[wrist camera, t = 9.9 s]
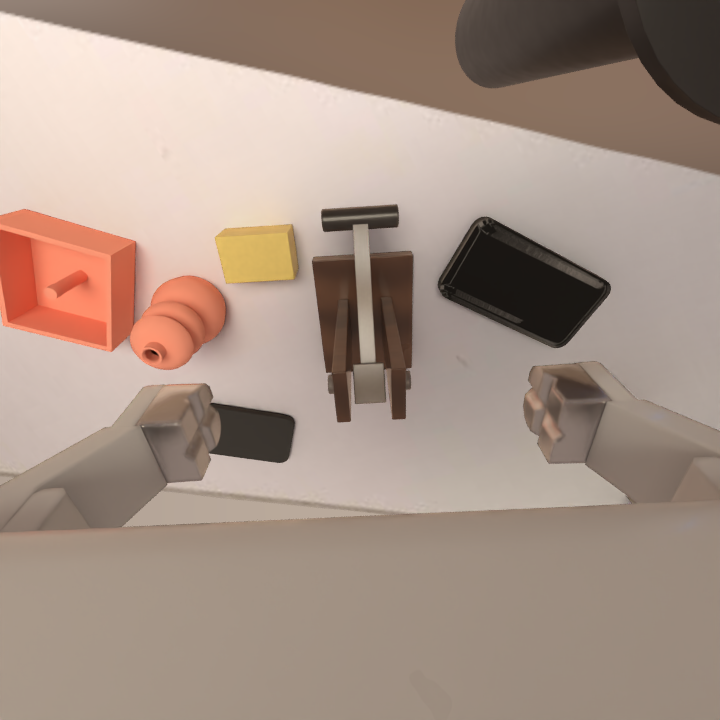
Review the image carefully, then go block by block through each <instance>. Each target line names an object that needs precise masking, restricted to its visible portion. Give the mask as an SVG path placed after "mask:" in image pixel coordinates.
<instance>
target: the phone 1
mask: <svg viewBox="0 0 720 720" xmlns="http://www.w3.org/2000/svg"><path fill="white" fill-rule="evenodd" d="M210 405H211V406H213V407H214V408H215V409H216V410H217V411H218V413H219V416H220V422H221V433H220V439H219V441H218V444H217V447H215V448H214V449H213V450H211V451H210V452H209V453H210V454H218V455H225V456H232V457H240V458H247V459H254V460H262V461H269V462H276V463H282V462H285V461H287V460H288V458H289V453H290V448H291V442H292V436H293V430H294V420H293V419H292V418H291V417H290V416H287V415H282V414H276V413H269V412H263V411H256V410H249V409H243V408H236V407H230V406H223V405H217V404H210Z"/></svg>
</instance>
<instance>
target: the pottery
mask: <svg viewBox="0 0 720 720" xmlns="http://www.w3.org/2000/svg"><path fill="white" fill-rule="evenodd" d="M135 243H136V241H132V240H129V239H125V238H122V237H119V236H115V235H112V234H108V233H105V232H102V231H98V230H95V229H91V228H88V227H84V226H81V225H78V224H74V223H71V222H67V221H64V220H61V219H57V218H54V217H50V216H47V215H43V214H40V213H37V212H33V211H30V210H26V209H22V210H19V211H15V212H11V213H8V214H4V215H0V310H1V316H2V322H3V326H7V327H11V328H15V329H19V330H23V331H27V332H32V333H36V334H40V335H44V336H48V337H52V338H56V339H60V340H64V341H69V342H73V343H77V344H81V345H85V346H89V347H93V348H97V349H101V350H105V351H110V352H112V351H113V350H114V349H115V348H116V347H117V346H118V345H119V344H121V343H122V342H123V341H124V340H125V339H126V338H127V337H128V336H129V335H130V343H131V347H132V349H133V351H134V352H135V354H136V355H137V356H138V357H139V358H140V359H141V360H142V361H143V362H145V363H146V364H148V365H150V366H152V367H154V368H158V369H163V370H172V369H176V368H179V367H181V366H183V365H184V364H186V363H187V362H188V361H189V360H190V359H191V357H192V355H193V354H194V353H196V352H197V351H198V350H199V349H200V347H201V346H202V344H204V343H206V342H208V341H210V340H212V339H213V338H214V337H216V336H217V335H218V333H219V332H220V331H221V329H222V327H223V325H224V321H225V313H226V306H225V302H224V299H223V297H222V295H221V293H220V292H219V291H218V289H217V288H215V287H214V286H213V285H212V284H211V283H209V282H208V281H206V280H204V279H202V278H199V277H195V276H182V277H179V278H175V279H171V280H169V281H167V282H165V283H163V284H162V285H161V286H160V287H159V288H158V289H157V290H156V292H155V293H154V295H153V297H152V301H151V307H149V308H148V309H147V310H146V311H145V312H144V314H143V315H142V318H141V319H140V320H138V321H137V322H136V323H135V325H134V286H135Z"/></svg>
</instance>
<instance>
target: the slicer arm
mask: <svg viewBox="0 0 720 720" xmlns="http://www.w3.org/2000/svg"><path fill="white" fill-rule="evenodd" d="M321 218H322V227H323V231H324V232H330V231H346V230H353V237H354V255H355V272H356V290H357V307H358V325H359V342H360V360H361V363H355V364H354V365H353V376H354V394H355V404H364V403H383V402H386V392H385V374H384V363H383V362H376V356H375V338H374V320H373V303H372V285H371V267H370V249H369V231H368V229H377V228H393V227H398V224H399V212H398V205H380V206H365V207H350V208H334V209H322V211H321Z"/></svg>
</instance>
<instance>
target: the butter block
mask: <svg viewBox="0 0 720 720" xmlns="http://www.w3.org/2000/svg"><path fill="white" fill-rule="evenodd" d="M215 241H216V245H217V249H218V253H219V257H220V261H221V265H222V269H223V273H224V277H225V281H226V283H243V282H260V281H276V280H292V279H295V276H296V273H297V271H298V261H297V254H296V247H295V240H294V233H293V227H292V224H290V225H274V226H259V227H243V228H228V229H224V230H223V231H222V232H221V233H219V234H218V235H217V236H216V237H215Z"/></svg>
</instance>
